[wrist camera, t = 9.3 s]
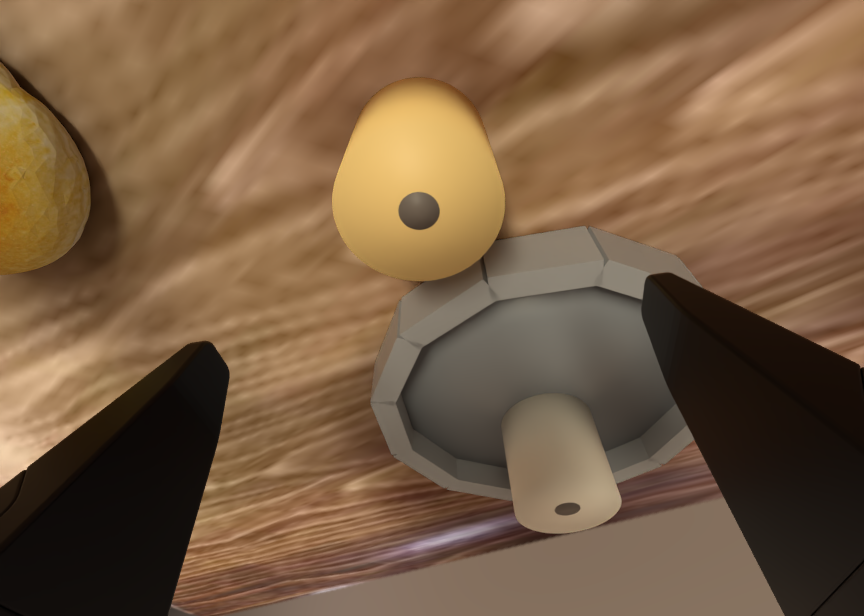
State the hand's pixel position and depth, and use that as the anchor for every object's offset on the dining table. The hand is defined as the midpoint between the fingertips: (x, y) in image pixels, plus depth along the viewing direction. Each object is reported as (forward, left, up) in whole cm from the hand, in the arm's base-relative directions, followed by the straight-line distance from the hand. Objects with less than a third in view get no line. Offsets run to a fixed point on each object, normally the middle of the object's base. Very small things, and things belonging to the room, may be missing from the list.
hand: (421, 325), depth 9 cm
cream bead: (-4, +16, -9) cm, 19 cm away
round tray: (-4, +13, -10) cm, 17 cm away
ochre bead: (0, 0, -10) cm, 10 cm away
